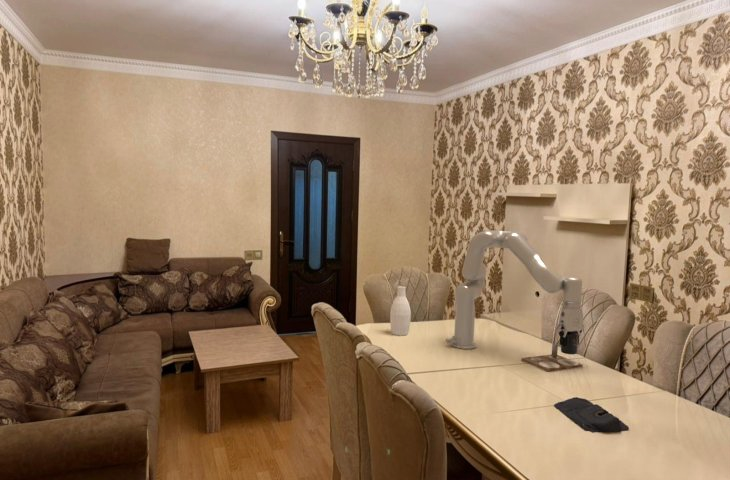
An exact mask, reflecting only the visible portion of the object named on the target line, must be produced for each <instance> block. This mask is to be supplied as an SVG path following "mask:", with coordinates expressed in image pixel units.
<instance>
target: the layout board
mask: <svg viewBox="0 0 730 480" xmlns="http://www.w3.org/2000/svg"><path fill="white" fill-rule="evenodd" d="M551 346H552V347H551V354H545V355H534V356H528V357H521V361H523V362H524V363H527V364H529V365H531V366H534V367H536V368H538V369H540V370H543V371H545V372H556V371H563V370H565V371H566V370H572V369H578V368H583V363H580V362H577V361H574V360H572V359H569V358H567V357H564V356H561V355H559V354H558V350H559V349H558V348H559V344H558V343H552V344H551Z"/></svg>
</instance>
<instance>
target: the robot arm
mask: <svg viewBox="0 0 730 480" xmlns="http://www.w3.org/2000/svg"><path fill="white" fill-rule="evenodd" d="M467 246H468V247H467V251H466V254H465V257H464V262H463V266H462V270H461V274H462V277H463V279H464V280H465V282H462V283H460V284H458V285H457V286H456V288H455V291H454V302H455V309H454V311H455V312H454V315H455V316H454V335H452V337H451V338H445V343H446V344H447V343H448V344H449V343H450V345H451V347H454V348H457V349H463V350H472V349H475V348H477V343H475V342H474V339H475V321H476V320H475V318H476V307H475V300H476V299H478V298H480V296H481V295H482V293H483V287H484V284H485V280H486V276H487V266H486V265H485V263H484V262H483V261H484V259H485V252H486V250H487V249H494V248H500V249H501V248H502V249H508V250H509V251H510V252H511V253H512V254H513V255H514V256H515V257H516V258H517V259H518V260H519V261H520V262H521V263H522V265H524V267H525V268H526V271H528V273H529V274H530V276H531V277H532V279H533V280H534V281H535V282H536V283H537V284H538V285H539V286H540V287H541V288H542V289H543V290H544V291H545V292H547V293H549V294H555V293H558V292H562V301H561V302H562V303H561V309H560V314H559V317H558V318H559V319H558V324H557V326H556V327H555V331H556V332H557V334H558V336H559V345H560V346H561V345H562V346H566V341H567V337H566V334H567V332H573V331H575V332H576V333H577V334H578V346H579V345H580V336H581V333H582V332H583V330H584V329H585V324H584V314H583V309H582V293H583V280H582V278H580V277H578V276H577V277H576V276H565V275H560V274H553V273H552V272H551V271H550V270H549V269H548V268H547V266H546V265H545V264H544V262H543V260H542V256H541V254H540V252H538V250H536V248H535V247H533V245H532V244H531V243H530V242H529V241H528V236H527V235H526V234H525V233H524V232H521V231H509V230H498V229H497V230H495V229H494V230H493V229H492V230H491V229H490V230H484V231H479V232H477V233H476V234H474V235H473V236H472V237H471V239H470V240H469V243H468V245H467ZM563 331H564V333H563Z"/></svg>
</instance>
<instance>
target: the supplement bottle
mask: <svg viewBox="0 0 730 480" xmlns="http://www.w3.org/2000/svg"><path fill="white" fill-rule="evenodd" d="M563 333H564V331H563ZM566 337H567V341H566V346H562V345H560V352H561V353H563V354H565V355H576V354H577V353H578V348H579V347H578V346H579V345H578V334H577V333H576V332H575V331H573V332H567V334H566Z"/></svg>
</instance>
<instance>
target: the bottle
mask: <svg viewBox="0 0 730 480" xmlns="http://www.w3.org/2000/svg"><path fill="white" fill-rule="evenodd" d="M396 288H397V292H396V293H397V294H396V296H395V297H394V300H393V301H392V304H391V307H390V313H389V316H390V317H389V318H390V319H389V320H390V333H391V335H394V336H400V337H402V336H408V334H409V332H410V326H411V317H412V312H411V305H410V302H409V300H408V299H407V296H406V294H407V293H406V289H407V288H406V286H403V285H399V286H397V287H396Z"/></svg>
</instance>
